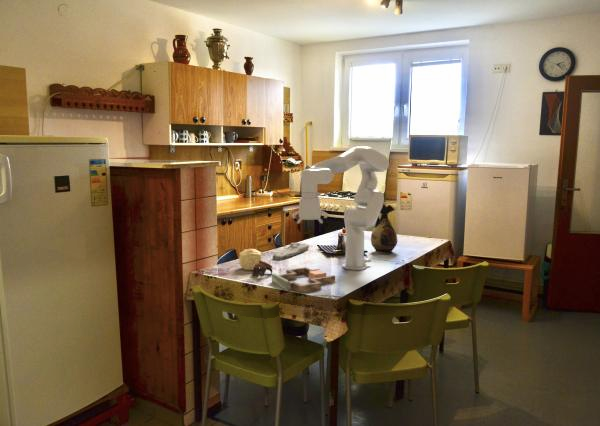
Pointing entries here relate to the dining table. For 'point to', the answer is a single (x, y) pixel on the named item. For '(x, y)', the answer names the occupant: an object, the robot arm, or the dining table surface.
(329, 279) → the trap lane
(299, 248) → the elongated rock
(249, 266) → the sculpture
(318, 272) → the block
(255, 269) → the brown animal figurine
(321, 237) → the dining table surface
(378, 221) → the ceramic jug
